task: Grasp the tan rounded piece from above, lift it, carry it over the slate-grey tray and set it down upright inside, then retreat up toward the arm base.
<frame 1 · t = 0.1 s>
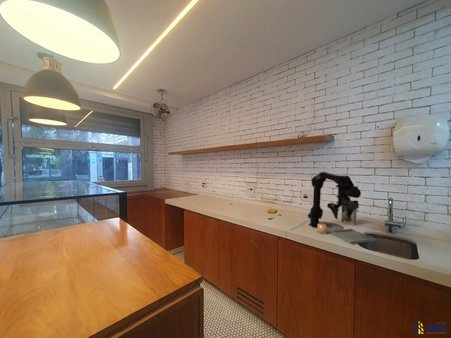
hand: (342, 218, 120), 15 cm above the countertop, fingers open, 9 cm apart
tan rounded piece: (322, 232, 133), on the countertop
tray: (351, 237, 125), on the countertop
coffee box: (348, 223, 153), on the countertop
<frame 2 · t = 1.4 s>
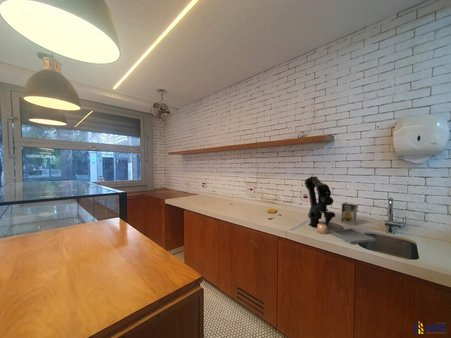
hand: (322, 223, 133), 7 cm above the countertop, fingers open, 9 cm apart
nothing on the countertop moved.
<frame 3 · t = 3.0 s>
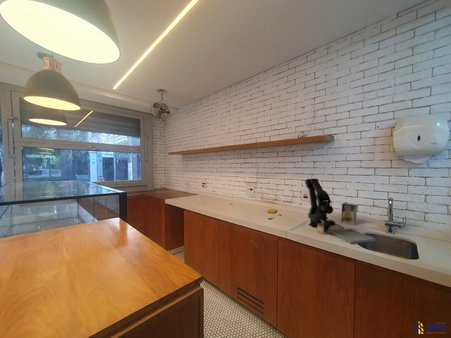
hand: (322, 231, 133), 1 cm above the countertop, fingers closed on tan rounded piece, 6 cm apart
tan rounded piece: (322, 232, 133), on the countertop, touching gripper
everything else where it was.
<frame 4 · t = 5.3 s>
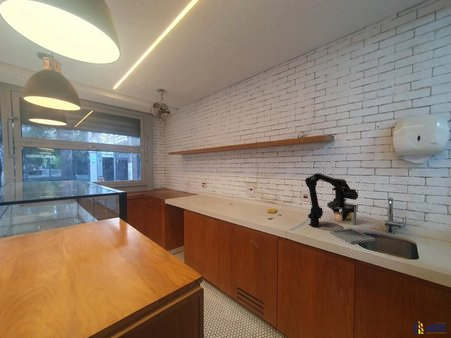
hand: (340, 219, 127), 11 cm above the countertop, fingers closed on tan rounded piece, 6 cm apart
tan rounded piece: (339, 221, 127), point 10 cm above the countertop, touching gripper
everything else where it was.
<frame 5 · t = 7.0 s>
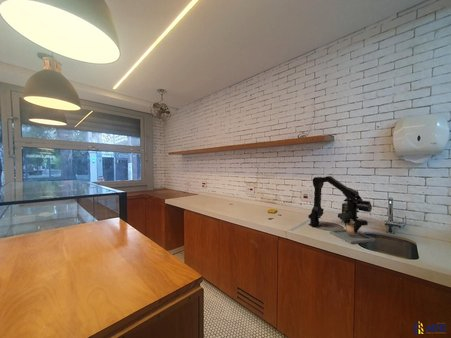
hand: (351, 231, 125), 4 cm above the countertop, fingers closed on tan rounded piece, 6 cm apart
tan rounded piece: (351, 233, 125), point 3 cm above the countertop, touching gripper
everything else where it was.
when the fingers open (3 cm above the countertop, at t = 8.1 s): tan rounded piece drops 1 cm, resting on tray.
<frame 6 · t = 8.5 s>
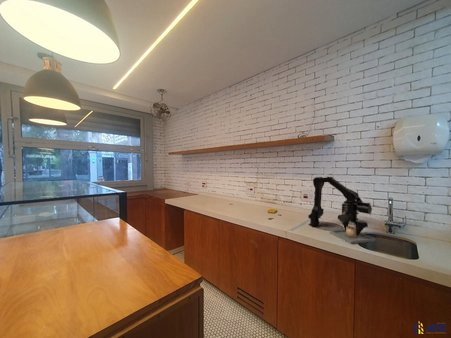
hand: (351, 233, 125), 3 cm above the countertop, fingers open, 9 cm apart
tan rounded piece: (351, 236, 125), point 1 cm above the countertop, touching tray
everything else where it was.
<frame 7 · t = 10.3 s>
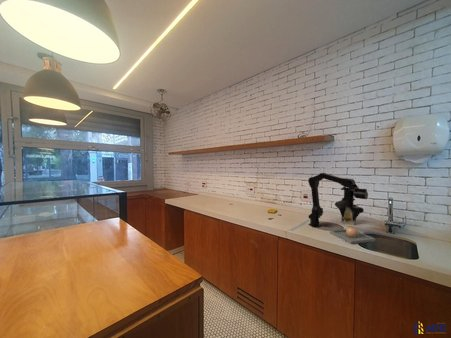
hand: (347, 218, 128), 12 cm above the countertop, fingers open, 9 cm apart
nothing on the countertop moved.
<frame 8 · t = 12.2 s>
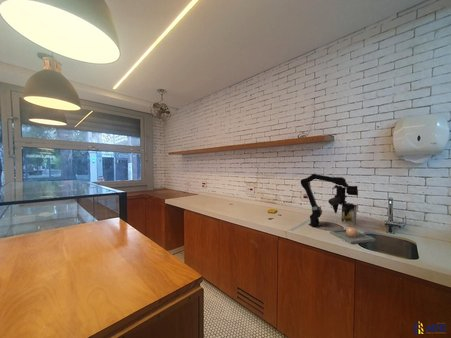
hand: (340, 214, 137), 12 cm above the countertop, fingers open, 9 cm apart
nothing on the countertop moved.
at the end: tan rounded piece inside the target area on the tray (0.1 cm from its centre), point 0.6 cm above the tray's base; tan rounded piece tilted 1°; the gripper is holding nothing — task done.
